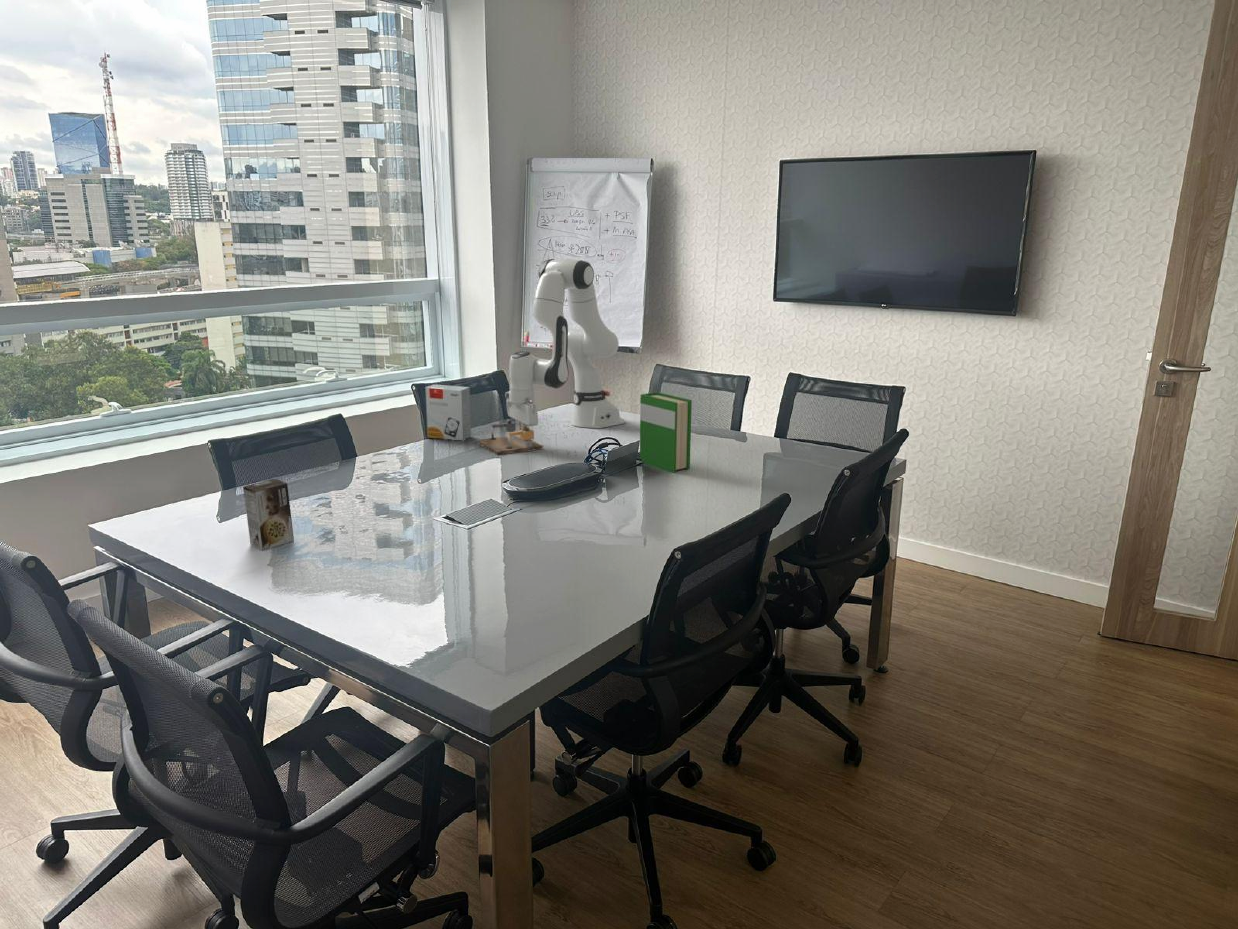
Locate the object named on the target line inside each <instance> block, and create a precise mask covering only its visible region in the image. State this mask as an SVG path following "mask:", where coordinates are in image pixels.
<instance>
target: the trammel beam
mask: <svg viewBox="0 0 1238 929" xmlns="http://www.w3.org/2000/svg"><path fill="white" fill-rule="evenodd" d="M495 428H496V429H497V428H503V429H502V430H503V432H505V436H506V437H508V433H509V432H517V431H516V422H515V421H512V420H511V419H507V420H506V422H502V423H494V424H491V429H490V432H491V438H492V439H493V438H495V437H494V434H495V432H494V430H495ZM510 439H512V440H513V441H515V442H517V443H519V444H521V445H523V446H525V447H532V441H533V439H531V440H522V439H520V435H514V436H510Z"/></svg>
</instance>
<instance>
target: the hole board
mask: <svg viewBox="0 0 1238 929" xmlns="http://www.w3.org/2000/svg"><path fill="white" fill-rule="evenodd" d="M475 441H476V444H477V443H479V444H480V445H479V444H478V445H479V446H481V445H483V446H484V447H485V448H484V447H483V446H482V447H483V448H484V449H486V448H487V449H486V450H488V449H489V450H490V451H489V450H488V451H489V452H491V451H492V452H491V453H493V452H494V453H495V454H494V453H493V454H494V455H496V454H497V455H496V456H500V455H499V454H501V455H506V454H505V453H508V454H512V453H511V452H515V453H522V451H523V452H527V451H528V450H530V451H534V450H533V449H537V450H543V445H542V444H540V443H538V442H536V441H534V440H532V447H525V446H523V445H521V444H519V443H517V442H515V441H513V440H512V439H510V444H511V446H510V447H509V446H508V437H506V435H505V436H498V437H497V436H496V437H494V438H493V439H492V437H488V438H480V439H475Z"/></svg>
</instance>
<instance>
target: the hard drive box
mask: <svg viewBox="0 0 1238 929" xmlns="http://www.w3.org/2000/svg"><path fill="white" fill-rule="evenodd" d="M424 389H425V391H424V392H425V413H426V414H425V415H426V431H427V432H426V435H427V439H428V438H429V439H435V438H446V439H445V440H447V439H452V440H451V441H454V440H462V441H461V442H464V441H465V440H464V439H466V438H468V439H469V437H470V436H471V437H472V427H471V426H472V425H471V397H470V396H471V394H470V393H471V391H470V387H469V386H458V385H446V384H445V385H444V384H435V383H434V384H432V385H431V384H430V385H428V386H425V387H424ZM471 437H470V438H471ZM453 439H454V440H453ZM435 440H436V439H435ZM463 440H464V441H463ZM466 440H467V439H466Z"/></svg>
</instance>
